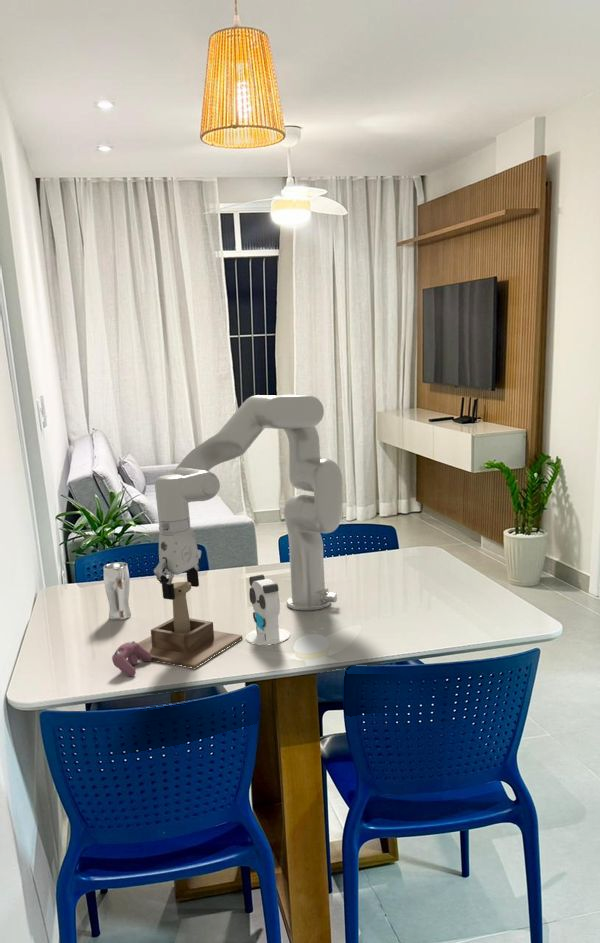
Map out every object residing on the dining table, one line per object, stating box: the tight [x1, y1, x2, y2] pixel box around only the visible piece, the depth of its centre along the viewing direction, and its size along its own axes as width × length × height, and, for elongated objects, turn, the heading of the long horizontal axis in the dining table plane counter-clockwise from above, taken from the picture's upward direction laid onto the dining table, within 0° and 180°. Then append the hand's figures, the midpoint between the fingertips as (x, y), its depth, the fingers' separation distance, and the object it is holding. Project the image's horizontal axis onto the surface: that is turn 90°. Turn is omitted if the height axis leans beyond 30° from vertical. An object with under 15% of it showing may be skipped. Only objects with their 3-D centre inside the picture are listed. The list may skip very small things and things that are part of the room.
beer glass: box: [103, 561, 132, 621], centre depth 214 cm, size 7×7×15 cm
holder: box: [137, 617, 243, 669], centre depth 190 cm, size 22×20×6 cm
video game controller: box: [111, 641, 151, 677], centre depth 179 cm, size 10×5×7 cm, turn 165°
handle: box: [172, 581, 192, 634], centre depth 189 cm, size 5×6×15 cm
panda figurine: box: [245, 574, 291, 646], centre depth 194 cm, size 12×11×15 cm
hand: (181, 592), depth 189 cm, fingers open, 9 cm apart
